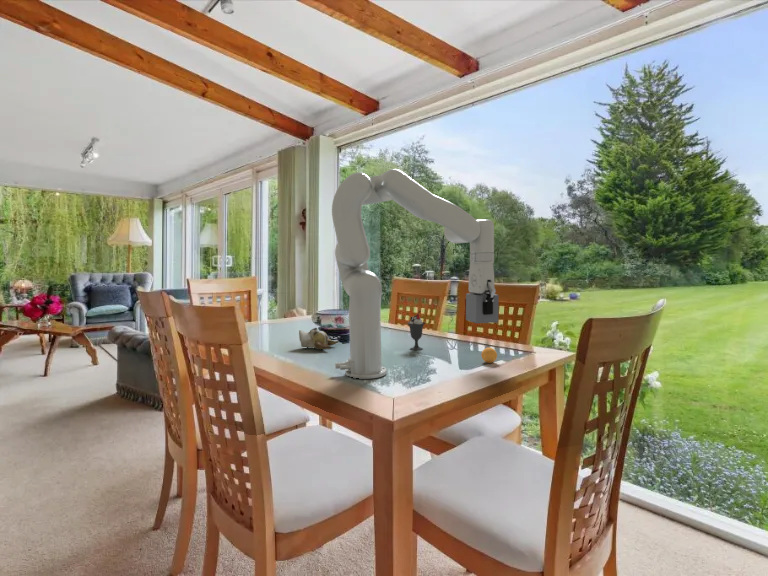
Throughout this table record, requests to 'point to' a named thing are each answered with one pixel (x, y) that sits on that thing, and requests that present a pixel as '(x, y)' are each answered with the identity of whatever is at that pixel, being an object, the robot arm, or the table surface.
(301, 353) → the table surface
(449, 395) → the table surface
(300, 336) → the ceramic sculpture
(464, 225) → the robot arm
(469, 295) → the grey matte cube
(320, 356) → the table surface
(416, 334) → the sundae
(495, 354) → the ball
